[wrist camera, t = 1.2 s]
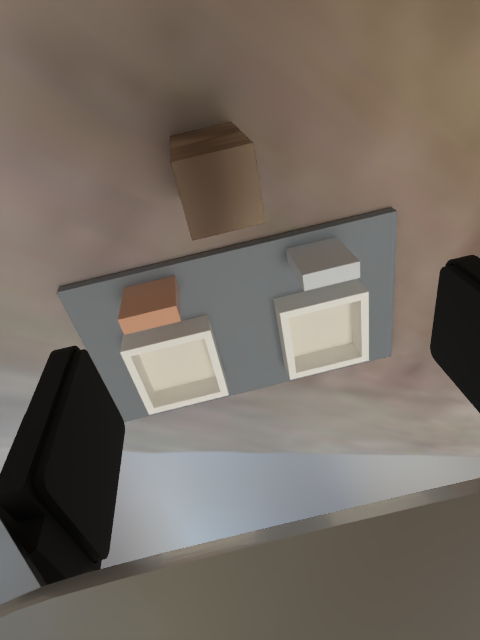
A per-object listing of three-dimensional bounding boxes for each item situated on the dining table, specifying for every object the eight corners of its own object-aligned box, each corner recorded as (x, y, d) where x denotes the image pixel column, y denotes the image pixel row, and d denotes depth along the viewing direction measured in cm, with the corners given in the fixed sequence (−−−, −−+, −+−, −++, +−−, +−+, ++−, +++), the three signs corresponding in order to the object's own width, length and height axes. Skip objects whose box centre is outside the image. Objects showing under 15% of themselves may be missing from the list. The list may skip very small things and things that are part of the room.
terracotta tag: (175, 275, 33) (176, 305, 29) (179, 289, 34) (181, 321, 30) (124, 287, 33) (117, 320, 29) (129, 301, 34) (124, 335, 30)
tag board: (391, 207, 34) (412, 220, 31) (386, 350, 43) (402, 371, 40) (59, 286, 33) (48, 308, 30) (125, 414, 42) (122, 440, 39)
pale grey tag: (336, 236, 33) (359, 261, 29) (337, 251, 34) (360, 277, 30) (286, 248, 33) (302, 275, 29) (287, 263, 34) (304, 291, 30)
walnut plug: (230, 122, 28) (253, 142, 21) (242, 184, 31) (265, 223, 23) (170, 136, 28) (170, 162, 21) (186, 197, 31) (192, 240, 23)
